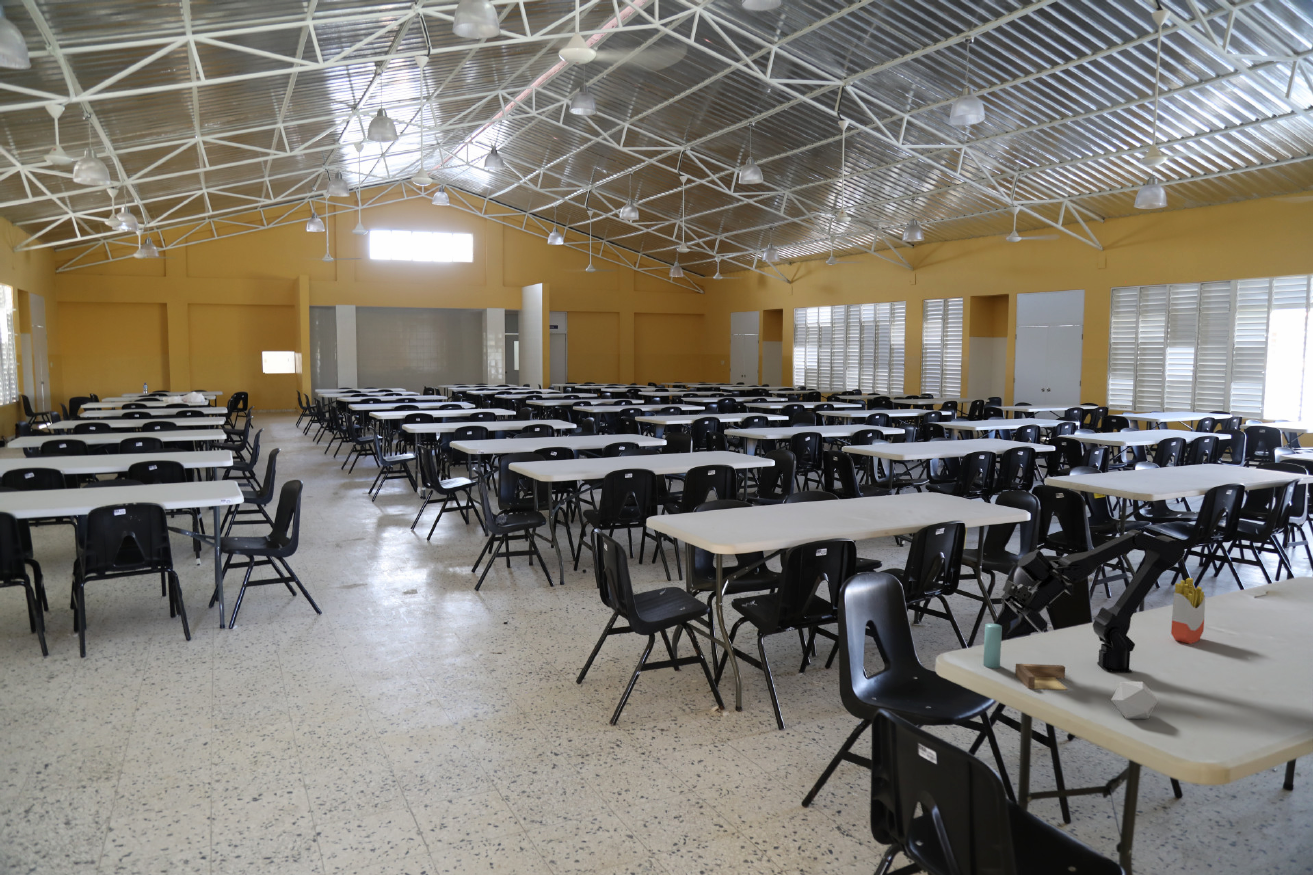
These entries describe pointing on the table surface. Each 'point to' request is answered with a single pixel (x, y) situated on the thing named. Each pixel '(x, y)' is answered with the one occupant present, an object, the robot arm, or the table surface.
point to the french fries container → (1188, 612)
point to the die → (1134, 700)
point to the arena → (1041, 676)
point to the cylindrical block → (992, 645)
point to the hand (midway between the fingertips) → (999, 632)
